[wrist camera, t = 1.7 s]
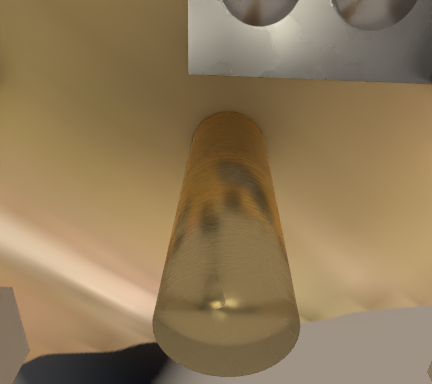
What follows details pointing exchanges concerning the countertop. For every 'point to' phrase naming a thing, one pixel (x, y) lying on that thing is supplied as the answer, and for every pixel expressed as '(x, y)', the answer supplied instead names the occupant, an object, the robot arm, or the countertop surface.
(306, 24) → the chain end
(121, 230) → the countertop surface
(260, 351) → the pin
